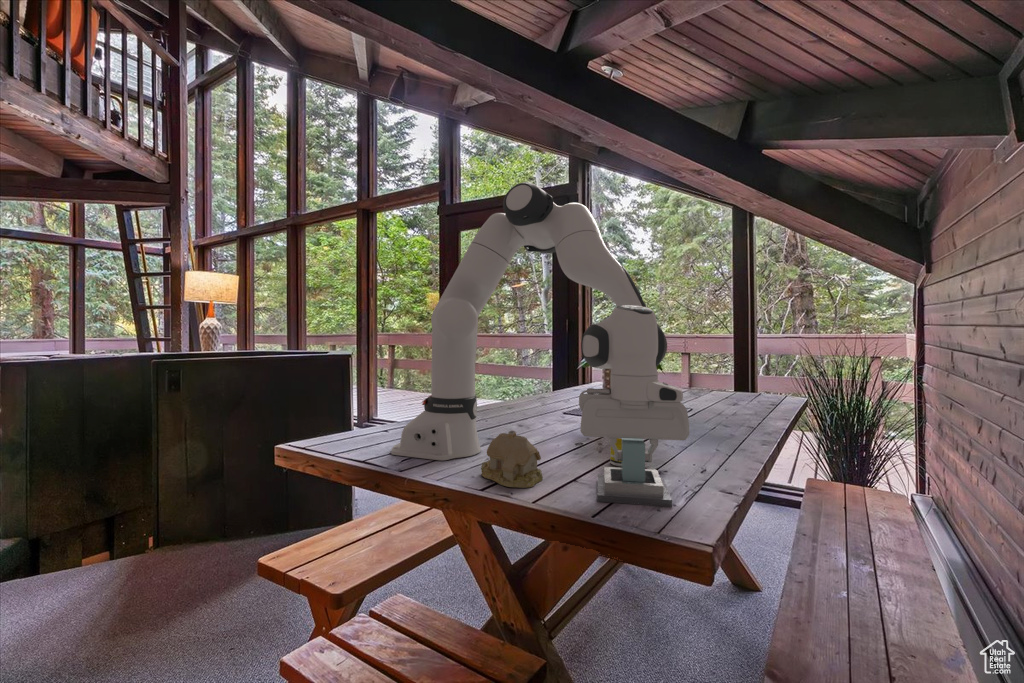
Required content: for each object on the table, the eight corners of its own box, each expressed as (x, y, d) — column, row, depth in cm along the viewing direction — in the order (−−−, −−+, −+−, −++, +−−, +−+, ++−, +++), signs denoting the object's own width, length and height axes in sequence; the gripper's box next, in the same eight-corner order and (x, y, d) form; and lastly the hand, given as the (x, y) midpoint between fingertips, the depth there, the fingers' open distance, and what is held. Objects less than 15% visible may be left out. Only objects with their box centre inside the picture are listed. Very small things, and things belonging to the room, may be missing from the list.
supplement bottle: (634, 467, 109) (635, 425, 109) (610, 466, 111) (610, 423, 110) (633, 461, 115) (633, 420, 115) (610, 460, 116) (610, 419, 116)
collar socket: (597, 501, 88) (597, 484, 88) (597, 479, 100) (597, 464, 100) (671, 506, 85) (672, 488, 85) (662, 483, 98) (662, 468, 98)
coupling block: (622, 480, 91) (623, 443, 90) (621, 472, 96) (621, 437, 96) (644, 482, 90) (645, 444, 90) (642, 473, 95) (642, 438, 95)
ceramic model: (553, 478, 102) (554, 431, 101) (521, 492, 93) (522, 440, 93) (502, 466, 110) (502, 423, 110) (468, 478, 101) (468, 431, 101)
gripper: (578, 389, 91) (577, 462, 92) (691, 392, 88) (690, 468, 88) (579, 386, 97) (579, 454, 98) (685, 388, 94) (684, 459, 94)
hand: (633, 460), depth 93 cm, fingers closed on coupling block, 4 cm apart
